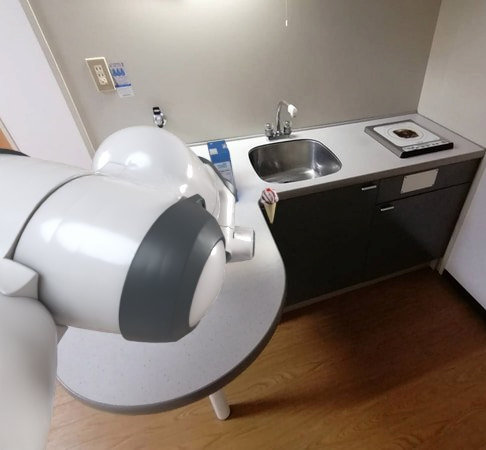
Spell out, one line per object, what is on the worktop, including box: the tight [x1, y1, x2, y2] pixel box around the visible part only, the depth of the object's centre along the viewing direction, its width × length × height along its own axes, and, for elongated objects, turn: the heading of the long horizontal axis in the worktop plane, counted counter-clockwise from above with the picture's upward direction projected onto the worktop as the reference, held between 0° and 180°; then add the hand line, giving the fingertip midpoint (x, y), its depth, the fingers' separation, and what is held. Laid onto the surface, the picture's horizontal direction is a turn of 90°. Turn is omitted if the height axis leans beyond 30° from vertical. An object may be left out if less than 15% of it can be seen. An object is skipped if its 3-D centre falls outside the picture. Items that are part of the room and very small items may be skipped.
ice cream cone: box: [259, 187, 279, 226], centre depth 98 cm, size 6×6×15 cm
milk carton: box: [206, 139, 239, 203], centre depth 109 cm, size 10×6×20 cm, turn 20°
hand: (127, 244), depth 71 cm, fingers closed on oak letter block, 5 cm apart
